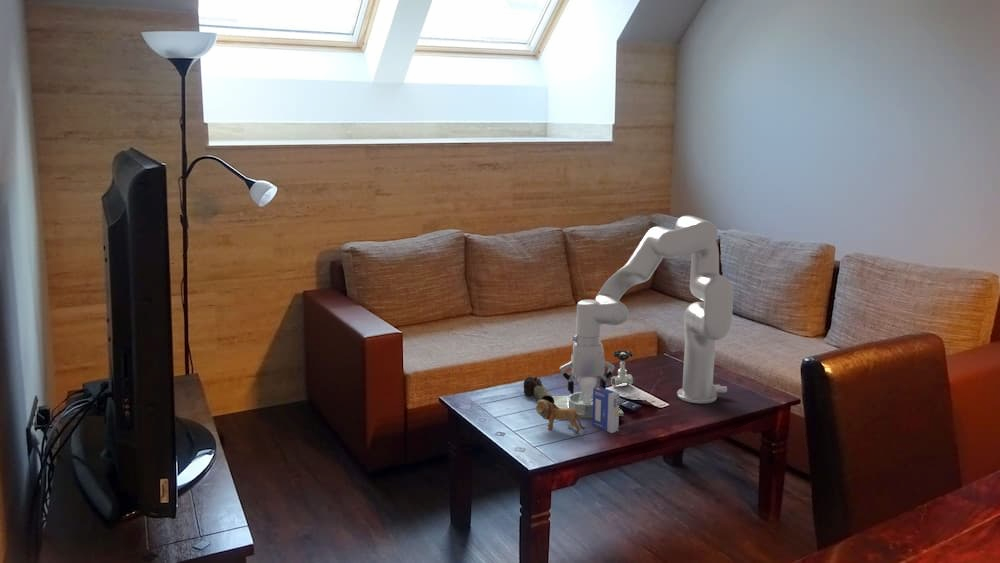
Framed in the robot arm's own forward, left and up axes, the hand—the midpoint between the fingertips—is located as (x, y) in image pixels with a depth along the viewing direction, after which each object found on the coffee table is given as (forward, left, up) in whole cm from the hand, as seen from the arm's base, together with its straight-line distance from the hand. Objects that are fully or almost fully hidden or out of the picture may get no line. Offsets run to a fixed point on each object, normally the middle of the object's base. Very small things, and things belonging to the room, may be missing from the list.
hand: (586, 392), depth 251 cm
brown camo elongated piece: (+14, -10, -6) cm, 18 cm away
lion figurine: (+11, +16, -6) cm, 20 cm away
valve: (-16, -18, -6) cm, 25 cm away
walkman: (-2, +16, -6) cm, 17 cm away
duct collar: (0, 0, -5) cm, 5 cm away
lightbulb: (0, 0, -4) cm, 4 cm away
